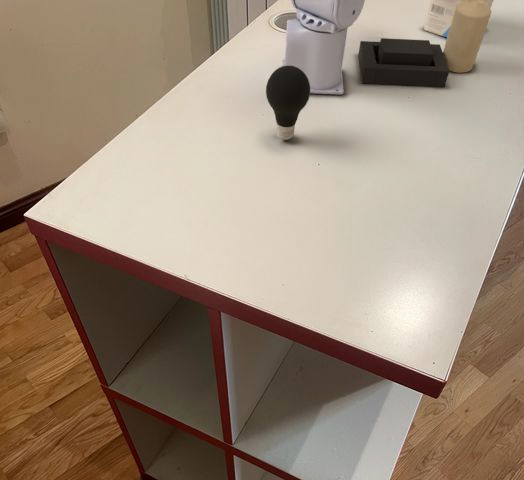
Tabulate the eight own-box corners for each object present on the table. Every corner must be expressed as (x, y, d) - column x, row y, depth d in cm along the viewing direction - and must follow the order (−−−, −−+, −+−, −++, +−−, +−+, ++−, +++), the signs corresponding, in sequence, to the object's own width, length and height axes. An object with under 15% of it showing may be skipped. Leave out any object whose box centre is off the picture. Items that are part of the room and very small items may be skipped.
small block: (378, 77, 85) (383, 52, 82) (375, 63, 88) (380, 37, 85) (426, 79, 85) (433, 54, 82) (422, 65, 88) (429, 40, 85)
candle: (473, 74, 86) (496, 7, 78) (439, 71, 87) (459, 4, 79) (471, 59, 89) (494, -7, 81) (439, 56, 90) (458, -10, 82)
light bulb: (281, 123, 76) (285, 52, 68) (313, 138, 74) (321, 67, 66) (256, 140, 73) (257, 68, 65) (288, 156, 71) (293, 84, 63)
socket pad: (361, 83, 84) (364, 67, 82) (358, 56, 89) (360, 40, 87) (444, 87, 84) (449, 71, 82) (435, 59, 89) (440, 44, 87)
